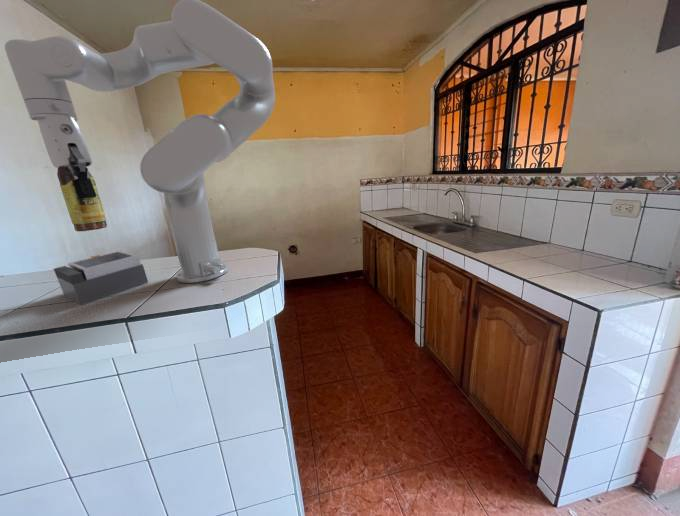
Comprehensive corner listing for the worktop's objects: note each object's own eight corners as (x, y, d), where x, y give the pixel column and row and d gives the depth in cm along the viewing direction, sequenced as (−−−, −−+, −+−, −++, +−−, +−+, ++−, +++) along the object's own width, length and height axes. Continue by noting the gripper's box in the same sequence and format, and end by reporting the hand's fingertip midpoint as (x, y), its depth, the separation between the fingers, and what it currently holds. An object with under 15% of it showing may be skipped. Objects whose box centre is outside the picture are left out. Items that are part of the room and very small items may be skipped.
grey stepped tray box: (148, 282, 75) (139, 253, 73) (80, 305, 64) (67, 272, 62) (128, 275, 82) (119, 249, 79) (64, 295, 71) (52, 265, 68)
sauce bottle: (89, 232, 66) (56, 138, 59) (68, 233, 67) (33, 140, 61) (116, 226, 72) (88, 139, 66) (96, 226, 73) (67, 142, 67)
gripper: (88, 107, 60) (116, 195, 65) (63, 119, 69) (89, 195, 75) (39, 102, 54) (73, 200, 59) (18, 117, 63) (50, 200, 69)
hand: (82, 197), depth 67 cm, fingers closed on sauce bottle, 6 cm apart
